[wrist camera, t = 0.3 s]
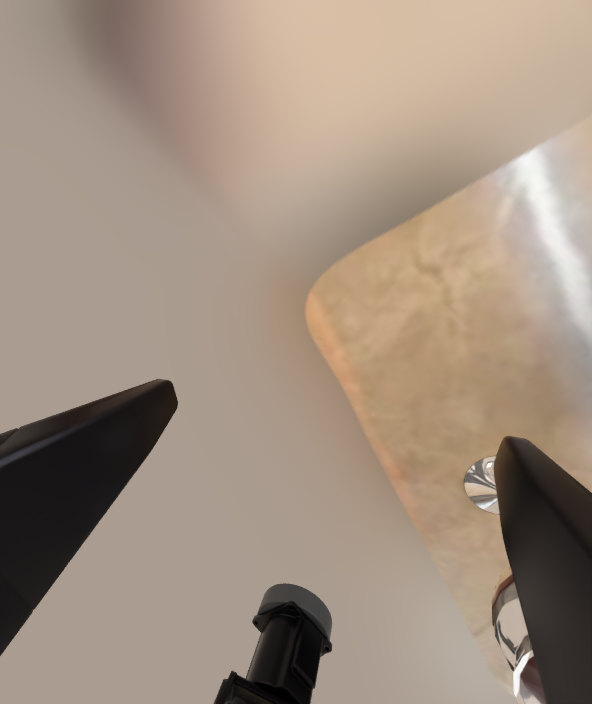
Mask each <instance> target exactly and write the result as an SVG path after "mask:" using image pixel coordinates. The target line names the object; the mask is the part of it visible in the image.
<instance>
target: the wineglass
mask: <svg viewBox="0 0 592 704" xmlns="http://www.w3.org/2000/svg"><path fill="white" fill-rule="evenodd" d="M495 458H496V456H493V457H489V458H485V459H482V460H480V461H479V462H477V463H475V464H474V465H473V466H472V467H471V468H470V469H469V470H468V471H467V474H466V477H465V480H464V483H465V490H466V493H467V495H468V497H469V498H470V499H471V500H472V501H473V502H474V503H475V504H476V505H477V506H479V507H480V508H482V509H484V510H485V511H488V512H492V513H495V514H499V507H498V500H497V493H496V486H495V479H494V471H493V466H494V461H495ZM492 618H493V626H494V630H495V637H496V639H497V641H498V643H499V645H500V647H501V649H502V651H503V653H504V655H505V657H506V659H507V661H508V663H509V665H510V667H511V669H512V670H513V671H514V673H513V680H514V694H515V696H516V698H517V700H518V702H519V704H546V700H545V697H544V693H543V689H542V685H541V681H540V678H539V674H538V670H537V666H536V662H535V659H534V655H533V651H532V647H531V643H530V640H529V636H528V632H527V628H526V624H525V621H524V617H523V613H522V609H521V605H520V602H519V598H518V594H517V590H516V586H515V582H514V579H513V575H512V571H511V567H509V568H508V569H507V570H506V571H505V572H503V573H502V574H501V575H500V576H499V579H498V581H497V583H496V585H495V587H494V590H493V598H492Z"/></svg>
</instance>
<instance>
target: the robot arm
mask: <svg viewBox="0 0 592 704" xmlns="http://www.w3.org/2000/svg"><path fill="white" fill-rule="evenodd" d="M177 405H178V401H177V397H176V394H175V390H174V387H173V384H172V382H171V381H169V380H162V379H156V380H153V381H151V382H148V383H145V384H142V385H139V386H136V387H133V388H131V389H128V390H125V391H122V392H119V393H116V394H113V395H111V396H108V397H105V398H102V399H99V400H96V401H93V402H90V403H88V404H85V405H82V406H79V407H76V408H73V409H70V410H68V411H65V412H62V413H59V414H56V415H53V416H51V417H48V418H45V419H42V420H39V421H36V422H33V423H30V424H27V425H25V426H22V427H20V428H19V429H17V428H16V429H13V430H10V431H7V432H5V433H2V434H0V656H1V654H2V653H3V652H4V650H5V649H6V647H7V646H8V645H9V643H10V642H11V641H12V639H13V638H14V637H15V635H16V634H17V633H18V631H19V630H20V628H21V627H22V626H23V625H24V623H25V622H26V620H27V619H28V618H29V616H30V615H31V614H32V612H33V610H34V609H35V608H36V606H37V605H38V604H39V602H40V601H41V600H42V598H43V597H44V596H45V594H46V593H47V592H48V590H49V589H50V587H51V586H52V584H53V583H54V582H55V581H56V579H57V578H58V577H59V575H60V574H61V573H62V571H63V570H64V568H65V567H66V566H67V564H68V563H69V562H70V560H71V559H72V558H73V556H74V555H75V554H76V552H77V551H78V550H79V548H80V547H81V545H82V544H83V543H84V541H85V540H86V539H87V537H88V536H89V535H90V533H91V532H92V531H93V529H94V528H95V526H96V525H97V524H98V522H99V521H100V520H101V518H102V517H103V516H104V514H105V513H106V512H107V510H108V509H109V508H110V506H111V505H112V504H113V502H114V501H115V500H116V498H117V497H118V495H119V494H120V493H121V491H122V490H123V489H124V487H125V486H126V485H127V483H128V482H129V480H130V479H131V478H132V477H133V475H134V474H135V472H136V471H137V470H138V468H139V467H140V466H141V464H142V463H143V462H144V460H145V459H146V458H147V456H148V455H149V453H150V452H151V450H152V449H153V447H154V446H155V444H156V442H157V441H158V439H159V438H160V436H161V434H162V433H163V431H164V429H165V428H166V426H167V424H168V423H169V421H170V419H171V418H172V416H173V414H174V413H175V411H176V409H177ZM493 471H494V479H495V486H496V493H497V500H498V507H499V514H500V521H501V528H502V534H503V539H504V544H505V548H506V552H507V556H508V560H509V563H510V567H511V571H512V575H513V579H514V582H515V586H516V590H517V594H518V598H519V602H520V605H521V609H522V613H523V617H524V621H525V624H526V628H527V632H528V636H529V640H530V643H531V647H532V651H533V655H534V659H535V662H536V666H537V670H538V674H539V678H540V681H541V685H542V689H543V693H544V697H545V700H546V704H592V493H591V492H590V491H589V490H587V489H586V488H585V487H584V486H583V485H581V484H580V483H579V482H578V481H577V480H576V479H574V478H573V477H572V476H571V475H570V474H568V473H567V472H566V471H565V470H564V469H562V468H561V467H560V466H559V465H558V464H556V463H555V462H554V461H553V460H552V459H550V458H549V457H548V456H547V455H546V454H544V453H543V452H542V451H541V450H540V449H538V448H537V447H536V446H535V445H534V444H533V443H531V442H530V441H529V440H527V439H524V438H518V437H512V436H506V437H504V438H503V440H502V442H501V445H500V447H499V450H498V453H497V455H496V458H495V461H494V466H493ZM253 624H254V625H255V627H256V628H257V629H258V630H259V631H260V632H261V635H260V638H259V641H258V644H257V647H256V650H255V653H254V656H253V659H252V661H251V665H250V667H249V670H248V673H247V676H246V679H245V678H243V677H241V676H239V675H237V673H236V672H234V671H231V673H230V676H229V678H228V679H224V680H223V682H222V685H221V687H220V690H219V692H218V695H217V697H216V699H215V702H214V704H310V703H311V697H312V691H313V689H314V688H315V684H316V679H317V673H318V667H319V661H320V656H321V655H323V654H326V653H329V652H331V651H332V644H331V642H330V641H329V640H328V639H327V638H326V637H325V635H324V634H323V633H322V632H321V631H320V630H319V629H318V628H317V626H316V625H315V624H314V623H313V622H312V621H311V620H310V619H309V617H308V616H307V615H306V614H305V613H304V612H303V611H302V610H301V608H300V607H299V606H298V605H297V604H296V603H295V602H293V601H289V602H286V603H284V604H282V605H279V606H277V607H275V608H272V609H270V610H268V611H265V612H263V613H261V614H258V615H256V616H254V618H253Z"/></svg>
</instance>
